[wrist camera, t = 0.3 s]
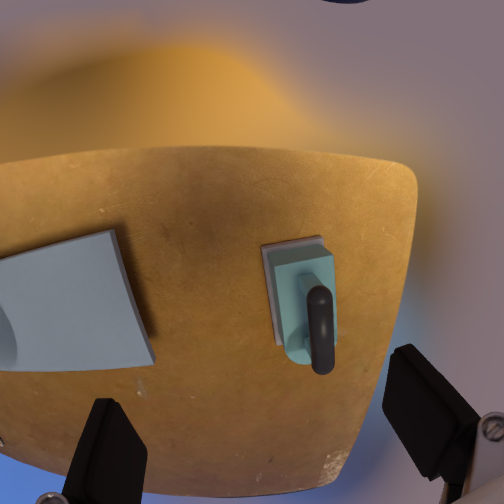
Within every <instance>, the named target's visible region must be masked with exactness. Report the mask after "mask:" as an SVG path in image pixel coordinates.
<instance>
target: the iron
mask: <svg viewBox="0 0 504 504" xmlns="http://www.w3.org/2000/svg"><path fill="white" fill-rule="evenodd" d="M261 252H262V259H263V265H264V271H265V278H266V284H267V291H268V297H269V304H270V310H271V317H272V323H273V330H274V336H275V342H276V345H282V344H283V347H284V350H285V353H286V354H287V356H288V357H289V358H290V359H291V360H292V361H294V362H296V363H298V364H311V365H312V369H313V370H314V372H316V373H317V374H319V375H326V374H328V373H330V372H331V371H332V370H333V368H334V365H335V348H334V347H335V345H336V342H337V314H336V290H335V272H334V257H333V254H332V253H331V252H330V251H328V250H327V249H326V248H325V247H324V240H323V237H322V236H320V235H319V236H313V237H308V238H303V239H297V240H292V241H286V242H281V243H276V244H270V245H265V246H261Z"/></svg>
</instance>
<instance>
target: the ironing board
mask: <svg viewBox="0 0 504 504" xmlns="http://www.w3.org/2000/svg"><path fill="white" fill-rule="evenodd" d="M155 360H156V356H155V354H154V351H153V349H152V346H151V344H150V341H149V339H148V336H147V333H146V331H145V328H144V325H143V322H142V320H141V317H140V314H139V311H138V308H137V305H136V302H135V299H134V296H133V293H132V290H131V287H130V284H129V281H128V277H127V274H126V271H125V267H124V264H123V261H122V257H121V253H120V250H119V246H118V242H117V239H116V235H115V231H114V229H110V230H106V231H102V232H98V233H94V234H90V235H86V236H82V237H78V238H74V239H70V240H66V241H63V242H59V243H55V244H51V245H48V246H44V247H41V248H37V249H33V250H30V251H26V252H23V253H19V254H16V255H13V256H9V257H6V258H3V259H0V370H1V371H81V370H100V369H115V368H127V367H138V366H148V365H154V363H155Z"/></svg>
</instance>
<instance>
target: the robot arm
mask: <svg viewBox="0 0 504 504" xmlns="http://www.w3.org/2000/svg"><path fill="white" fill-rule="evenodd" d="M382 409H383V412H384V414H385V416H386V417H387V419H388V420H389V422H390V424H391V425H392V427H393V429H394V430H395V432H396V434H397V435H398V437H399V439H400V440H401V442H402V443H403V445H404V447H405V448H406V450H407V452H408V453H409V455H410V457H411V458H412V460H413V462H414V463H415V465H416V467H417V468H418V470H419V472H420V473H421V475H422V476H423V477H428V479H429V481H432V480H434V479H436V478H438V477H440V476H441V477H442V478H443V480H444V481H445V484H444V488H443V492H442V495H441V499H440V502H439V504H504V413H501V412H490V413H488V414H486V415H484V416H483V417H482V418H481V417H480V416H479V415H478V414H477V413H476V412H475V411H474V409H473V408H472V407H471V406H470V405H469V404H468V403H467V402H466V400H465V399H464V398H463V397H462V396H461V395H460V394H459V393H458V392H457V390H456V389H455V388H454V387H453V386H452V385H451V384H450V383H449V382H448V381H447V380H446V379H445V377H444V376H443V375H442V374H441V373H440V372H438V371H437V370H436V369H435V368H434V367H433V365H431V363H430V362H429V361H428V360H427V359H426V358H425V357H424V356H423V355H422V354H421V353H420V352H419V351H418V350H417V349H416V348H415V346H414V345H412V344H407V345H404V346H401V347H398V348H396V349H395V350H394V353H393V354H391V356H390V363H389V369H388V375H387V382H386V387H385V392H384V397H383V403H382ZM147 455H148V453H147V448H146V446H145V445H144V443H143V442H142V440H141V439H140V437H139V436H138V434H137V432H136V431H135V429H134V428H133V426H132V424H131V423H130V421H129V419H128V418H127V416H126V414H125V412H124V411H123V409H122V407H121V405H120V404H119V403H118V402H115V401H114V399H112V398H97V399H96V400H95V402H94V404H93V407H92V409H91V412H90V414H89V417H88V419H87V422H86V425H85V427H84V430H83V433H82V435H81V437H80V440H79V442H78V445H77V448H76V451H75V454H74V457H73V459H72V462H71V465H70V468H69V471H68V474H67V477H66V481H65V484H64V487H63V490H62V493H61V494H59V493H56V492H48V493H45V494H43V495H41V496H40V497H39V498H38V500H37V501H36V504H141V499H142V491H143V483H144V476H145V469H146V462H147Z"/></svg>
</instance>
